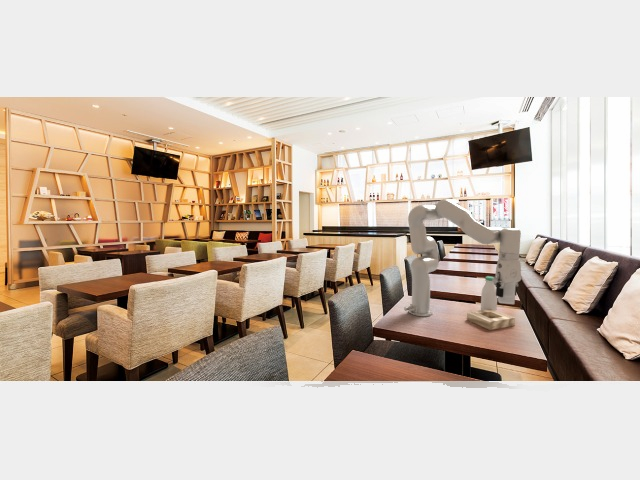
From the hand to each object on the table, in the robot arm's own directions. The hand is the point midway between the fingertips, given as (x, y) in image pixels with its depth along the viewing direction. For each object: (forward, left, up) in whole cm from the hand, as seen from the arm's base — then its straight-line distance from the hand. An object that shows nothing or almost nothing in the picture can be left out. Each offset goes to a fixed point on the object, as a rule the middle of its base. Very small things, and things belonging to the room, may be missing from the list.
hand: (506, 295), depth 134 cm
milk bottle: (+20, +27, -19) cm, 39 cm away
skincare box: (0, 0, -4) cm, 4 cm away
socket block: (+8, +15, -19) cm, 26 cm away
